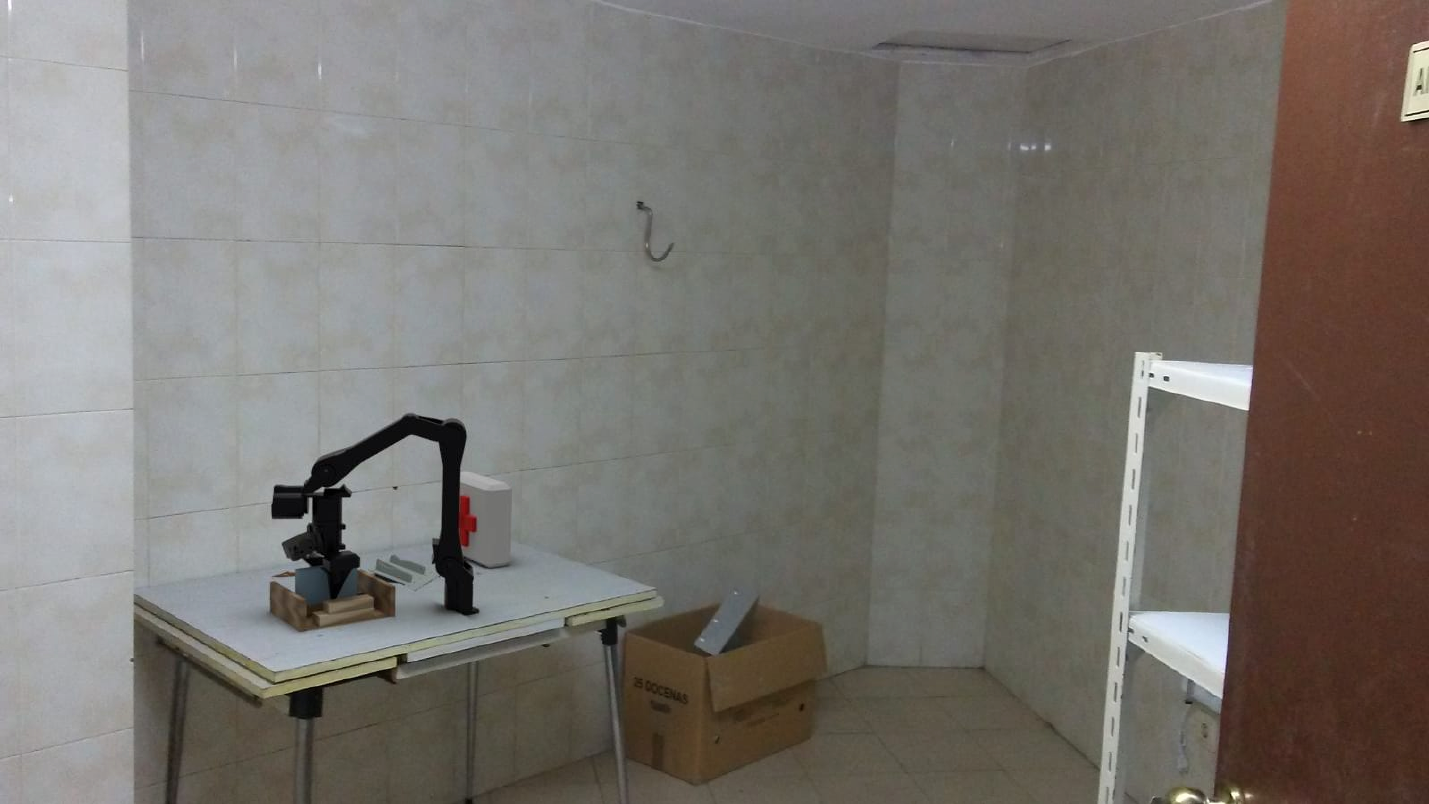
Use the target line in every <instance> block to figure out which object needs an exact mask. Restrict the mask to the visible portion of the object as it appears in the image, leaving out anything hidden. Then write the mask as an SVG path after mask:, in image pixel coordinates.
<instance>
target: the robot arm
mask: <svg viewBox="0 0 1429 804" xmlns="http://www.w3.org/2000/svg"><path fill="white" fill-rule="evenodd" d="M467 435H468V434H467V428H466V425H465V424H464V423H463V422H462V421H461V420H460V419H458V418H453V417H450V418H447V419H444V420H443V419H440V418H434V417H430V416H423V415H419V414H416V413H414V412H408V413H405V414H403V415H402V417H400V418H398V419H397V420H395V421H393V422H391V423H389V424H388V425H386V426H384V427H383V428H381V429H379V430H377V431H376V432H374V433H372V434H371V435H369V436H367V437H365V438H363V439H362V440H360V441H358V442H356V443H355V444H352V445H350V446H347V447H345V448H341V449H338V450H334V451H331V452H329V453H327V454H323V455H321V456H320V457H318V459H316V460H315V462H314V464H313V466H312V468H311V471H310V476H309V478H308V479H305V481H304V482H303V485H287V484H286V485H285V484H275V485H274V486H273V493H272V502H271V504H270V507H271V508H270V509H271V510H270V512H271V513H270V515H271V519H272V520H303V519H304V517H305V515H309V512H310V499H311V522H308V524H307V525H306V531H305V532H302V533H299V534H297V535H294V536H292V537H290V538H288V539H286V540H283V541H282V542H281V547H282V549H283V552H284V554H285V558H286V559H289V560H291V561H292V562H298V561H300V560H302V561H304V563H306V564H307V565H308V567H314V566H322V565H324V567H320V569H321V570H323V571H324V572H325V573H326V574H327V578H328V586H329V594H330V599H332V600H333V599H336V598H337V596H338V594H339V592H340V590H341V588H342V586H343V584H344V583H345V581H346V579H347V577H348V575H349V574H350V572H351V570H352V569H354V568H357V569H358V568H361V556H359V555H358V554H357V553H355V552H353V551H351V550H349V549H347V550H346V544H345V543H343V531H344V530H346V529H347V524H346V523H344V522H343V498H344V499H345V498H348V499H349V498H351V497H352V494H353V491H352V490H351V489H349V488H348V486H347V485H346V484H345V483H342V485H340V486H339V487H335V486H336V485H337V484H338V483H340V482H341V481H342V480H343V479H344V478H345V477H347V476H348V475H349V474H350V473H352V472H353V470H355V468H357V467H358V466H359V465H360V464H362V463H363V462H366V461H368V460H369V459H371V458H372V457H374V456H376V455H377V454H379V453H381V452H383V451H384V450H387V449H389V448H390V447H391V446H393V445H395V444H397V443H398V442H400V441H402V440H404V439H406V438H407V437H409V436H416V437H419V438H422V439H424V440H427V441H431V442H435V443H438V447H439V453H440V460H441V465H442V470H441V472H442V473H441V474H442V475H441V476H442V477H441V519H440V521H441V522H440V523H441V525H440V532H439V537H438V538H435V537H432V539H431V542H432V543H431V545H432V554H431V565H434V568H435V572H437V573H438V574H439V575H440V577H441V578H443V579H444V587H443V588H444V589H443V590H444V591H443V595H444V597H443V605H444V609H445V610H448V611H453V612H454V611H455V612H456V613H458V614H460V615H464V616H466V615H470V613H471V614H475V613H479V612H480V608H477V607H475V606H474V580H475V575H474V574H475V573H474V568H473V566H472V565H471V563H469V562H468V561H467V560H466V559H465V557H463V552H462V546H461V540H460V534H459V509H460V472H461V468H462V467H461V466H462V462H463V457H464V454H465V453H464V452H465V448H466V443H467V440H468V436H467ZM322 488H323V491H318V490H320V489H322Z"/></svg>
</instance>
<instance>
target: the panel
mask: <svg viewBox="0 0 1429 804" xmlns="http://www.w3.org/2000/svg"><path fill="white" fill-rule="evenodd" d="M320 567H324V565H322V566H314V567H310V566H308V567H302V568H301V567H300V568H295V569H294V573H295V577H294V580H295V581H294V588H295V589H294V593H296V594H297V595H299V596H301V597H302V598H304V599H306V600H307V605H314V604H320V603H323V601H327V600H332V599H330V594H329V586H328V578H327V574H326V573H325V572H324V571H323V570H321V569H320ZM357 570H358V568H354V569H352V570H351V572H350V574H349V575H348V577H347V579H346V581H345V583H344V584H343V586H342V588H341V590H340V592H339V594H338V596H337V598H336V599H340V598H346V597H353V596H357Z"/></svg>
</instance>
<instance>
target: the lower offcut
mask: <svg viewBox="0 0 1429 804" xmlns="http://www.w3.org/2000/svg"><path fill="white" fill-rule="evenodd" d="M370 618H374V608H369V609H362V610H356V611H350V612H344V613H338V614H332V615H329V614H327V613H325V612H324V611H318V612H313V620H312V622H313V623H314V624H316V625H317V626H319V627H323V626H329V625H335V624H340V623H346V622H352V621H358V620H364V619H370Z"/></svg>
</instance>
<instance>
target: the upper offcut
mask: <svg viewBox="0 0 1429 804" xmlns="http://www.w3.org/2000/svg"><path fill="white" fill-rule="evenodd" d="M369 608H374V598H373V597H371V596H369V595H367V594H366V595H359V596H353V597H346V598H340V599H333V600H327V601H323V611H324V612H325V613H327V614H329V615H332V614H338V613H344V612H350V611H356V610H362V609H369Z"/></svg>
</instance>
